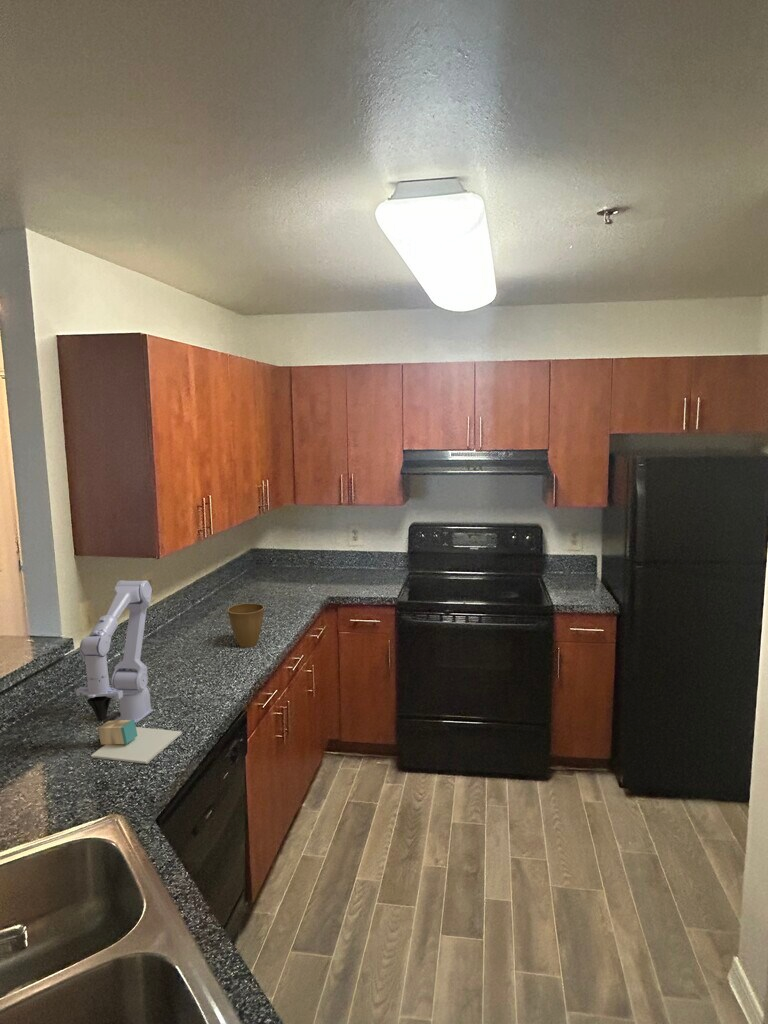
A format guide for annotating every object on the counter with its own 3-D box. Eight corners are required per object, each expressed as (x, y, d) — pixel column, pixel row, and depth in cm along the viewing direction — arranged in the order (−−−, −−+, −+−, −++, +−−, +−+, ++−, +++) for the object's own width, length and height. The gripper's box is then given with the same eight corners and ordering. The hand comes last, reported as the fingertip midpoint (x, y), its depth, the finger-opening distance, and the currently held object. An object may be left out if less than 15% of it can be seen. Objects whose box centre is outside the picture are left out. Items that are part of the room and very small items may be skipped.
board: (130, 728, 203) (130, 726, 203) (182, 733, 199) (181, 731, 199) (90, 757, 186) (90, 755, 186) (146, 763, 181) (146, 761, 181)
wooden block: (108, 720, 197) (134, 719, 194) (112, 736, 197) (137, 735, 195) (97, 728, 192) (123, 727, 190) (101, 744, 193) (127, 743, 190)
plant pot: (223, 650, 271) (221, 612, 269) (240, 638, 285) (237, 602, 283) (257, 651, 268) (254, 613, 265) (271, 639, 282) (269, 603, 280)
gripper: (67, 679, 191) (71, 723, 192) (109, 682, 187) (114, 727, 189) (84, 670, 197) (88, 713, 199) (125, 673, 193) (129, 717, 195)
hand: (102, 719), depth 194 cm, fingers closed
